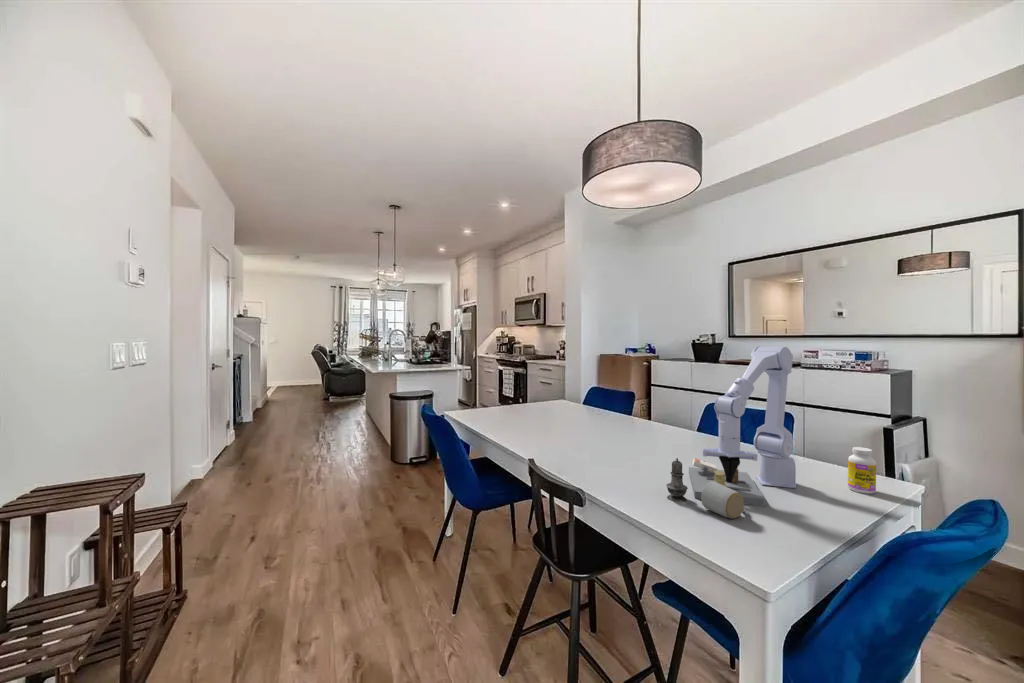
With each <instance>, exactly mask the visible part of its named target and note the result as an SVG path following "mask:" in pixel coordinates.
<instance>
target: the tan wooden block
mask: <svg viewBox="0 0 1024 683" xmlns="http://www.w3.org/2000/svg"><path fill="white" fill-rule="evenodd" d="M714 482H717V483H719V484H721V485H723V486H725V474H724V472H723V471H714Z"/></svg>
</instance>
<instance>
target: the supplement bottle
mask: <svg viewBox="0 0 1024 683" xmlns="http://www.w3.org/2000/svg"><path fill="white" fill-rule="evenodd" d="M872 456H873V449H871V448H867V447H862V446H854V447H852V454H851V455H849V456H848V459H847V462H848V463H847V488H848V489H849V490H851V491H853V492H856V493H859V494H860V493H861V494H866V495H867V494H868V495H872V494H876V492H877V491H876V489H877V488H876V487H877V461H876V459H874V458H873V457H872Z"/></svg>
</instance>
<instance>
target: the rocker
mask: <svg viewBox="0 0 1024 683" xmlns="http://www.w3.org/2000/svg"><path fill="white" fill-rule="evenodd" d="M704 461H705V460H701V459H699V458H695V457H693V459H692V462H691V463H692V466H693V467H694V468H701V469H703V466H705V467H708V471H710V472H713V473H714V471H717V470H718V467H717V465H716V464H713V463H710V462H706V461H705V462H704Z"/></svg>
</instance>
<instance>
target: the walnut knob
mask: <svg viewBox="0 0 1024 683" xmlns="http://www.w3.org/2000/svg"><path fill="white" fill-rule="evenodd" d="M738 472H739V468H738V467H737V469H736V471H735V473H734V476H733V480H732V482H734V483H738Z"/></svg>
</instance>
